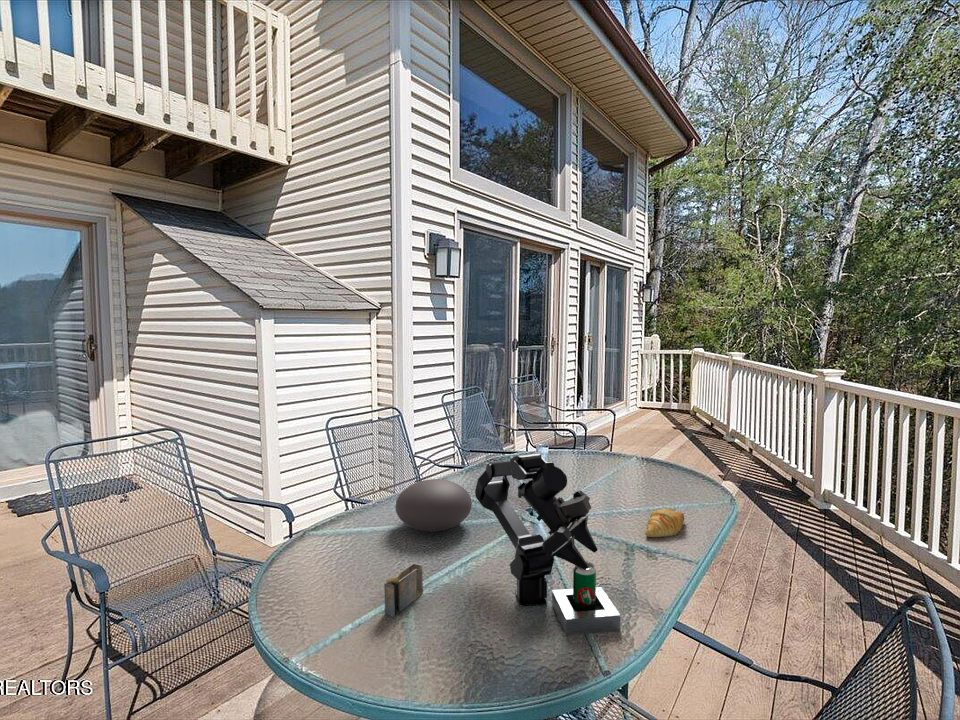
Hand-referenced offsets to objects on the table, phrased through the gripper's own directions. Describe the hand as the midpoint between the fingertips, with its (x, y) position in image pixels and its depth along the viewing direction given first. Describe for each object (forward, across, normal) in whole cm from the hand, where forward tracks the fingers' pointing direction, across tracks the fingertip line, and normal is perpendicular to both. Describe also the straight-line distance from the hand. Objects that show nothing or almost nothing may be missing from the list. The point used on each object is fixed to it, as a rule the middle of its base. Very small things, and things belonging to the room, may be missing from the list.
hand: (591, 559), depth 116 cm
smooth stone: (-31, +31, +51) cm, 67 cm away
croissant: (+16, +59, +2) cm, 61 cm away
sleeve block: (+9, 0, +11) cm, 14 cm away
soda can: (+9, 0, +11) cm, 14 cm away
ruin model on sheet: (-19, -12, +40) cm, 46 cm away
